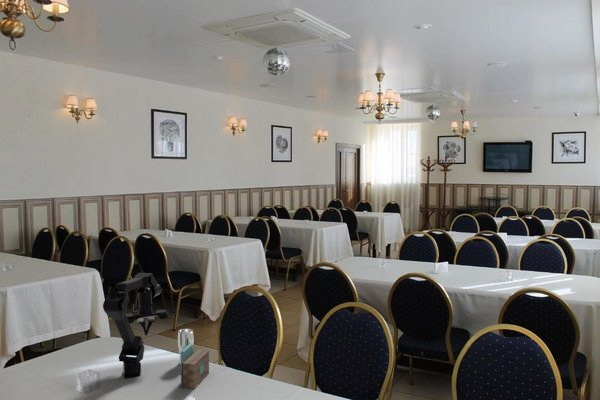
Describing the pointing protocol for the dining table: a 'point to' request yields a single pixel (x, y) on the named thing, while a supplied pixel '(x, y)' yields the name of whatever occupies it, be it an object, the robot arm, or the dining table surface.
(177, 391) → the dining table surface
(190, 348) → the teal fan slab
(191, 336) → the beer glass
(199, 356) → the block
